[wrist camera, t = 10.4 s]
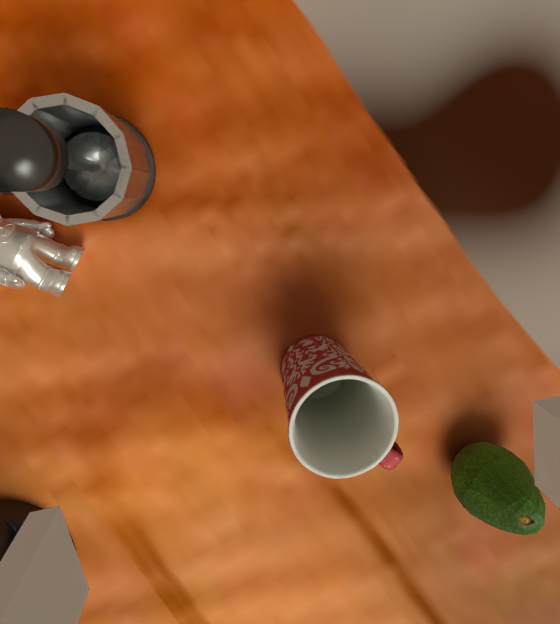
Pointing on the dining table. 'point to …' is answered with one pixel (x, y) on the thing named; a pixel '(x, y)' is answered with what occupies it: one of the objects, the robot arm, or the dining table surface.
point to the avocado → (497, 488)
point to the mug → (337, 411)
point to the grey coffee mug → (131, 149)
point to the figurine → (34, 256)
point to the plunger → (55, 158)
